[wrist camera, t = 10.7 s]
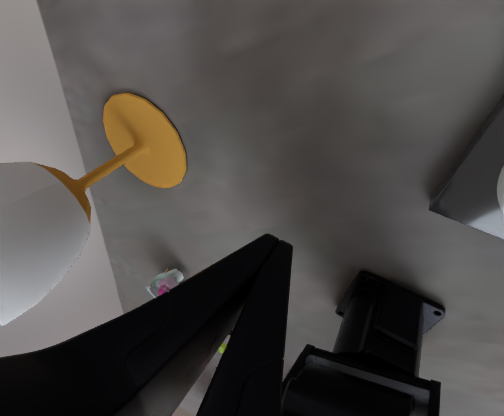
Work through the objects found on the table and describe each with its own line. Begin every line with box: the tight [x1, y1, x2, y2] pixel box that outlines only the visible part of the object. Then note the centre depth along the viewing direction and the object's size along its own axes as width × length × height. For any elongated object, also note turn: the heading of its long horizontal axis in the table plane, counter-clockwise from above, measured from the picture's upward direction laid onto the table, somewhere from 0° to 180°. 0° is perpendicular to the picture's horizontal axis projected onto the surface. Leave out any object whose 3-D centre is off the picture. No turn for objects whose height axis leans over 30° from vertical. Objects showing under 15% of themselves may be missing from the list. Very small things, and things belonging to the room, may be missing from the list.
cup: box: [0, 92, 187, 326], centre depth 22 cm, size 9×9×16 cm
